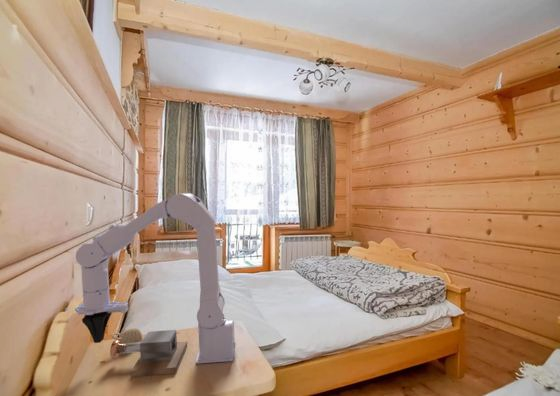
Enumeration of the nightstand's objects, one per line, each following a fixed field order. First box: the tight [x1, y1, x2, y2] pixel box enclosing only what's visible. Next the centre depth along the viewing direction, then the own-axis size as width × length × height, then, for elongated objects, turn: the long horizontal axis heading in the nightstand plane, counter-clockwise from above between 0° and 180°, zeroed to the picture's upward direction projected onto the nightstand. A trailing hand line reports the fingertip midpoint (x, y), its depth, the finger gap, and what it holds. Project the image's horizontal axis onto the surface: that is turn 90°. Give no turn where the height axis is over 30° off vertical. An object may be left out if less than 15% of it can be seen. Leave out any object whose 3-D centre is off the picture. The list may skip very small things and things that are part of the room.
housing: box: [130, 329, 188, 378], centre depth 78 cm, size 10×12×6 cm
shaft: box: [109, 339, 141, 359], centre depth 78 cm, size 11×4×4 cm, turn 94°
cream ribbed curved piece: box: [110, 327, 144, 343], centre depth 85 cm, size 4×8×5 cm, turn 128°
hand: (99, 340), depth 77 cm, fingers closed
